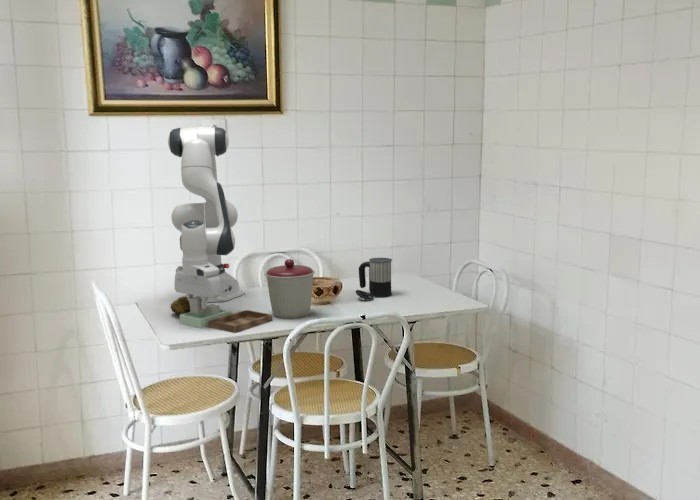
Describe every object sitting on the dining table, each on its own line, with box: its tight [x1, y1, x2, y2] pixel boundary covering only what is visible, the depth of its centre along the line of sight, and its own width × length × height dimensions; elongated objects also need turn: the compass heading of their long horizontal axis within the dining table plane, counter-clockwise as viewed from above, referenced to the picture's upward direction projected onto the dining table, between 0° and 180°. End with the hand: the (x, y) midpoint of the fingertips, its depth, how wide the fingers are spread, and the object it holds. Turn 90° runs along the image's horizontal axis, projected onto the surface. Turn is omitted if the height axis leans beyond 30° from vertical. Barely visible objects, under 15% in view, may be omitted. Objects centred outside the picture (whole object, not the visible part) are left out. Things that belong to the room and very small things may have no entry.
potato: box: [170, 295, 190, 316], centre depth 270 cm, size 8×13×8 cm, turn 20°
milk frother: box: [355, 257, 393, 301], centre depth 292 cm, size 14×16×15 cm
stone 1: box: [190, 296, 206, 314], centre depth 256 cm, size 4×4×5 cm
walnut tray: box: [208, 309, 274, 334], centre depth 255 cm, size 18×13×3 cm
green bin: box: [179, 308, 232, 329], centre depth 259 cm, size 14×11×4 cm
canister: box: [264, 258, 316, 320], centre depth 265 cm, size 18×18×21 cm
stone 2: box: [205, 303, 221, 317], centre depth 262 cm, size 4×4×5 cm
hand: (198, 307), depth 256 cm, fingers closed on stone 1, 4 cm apart
